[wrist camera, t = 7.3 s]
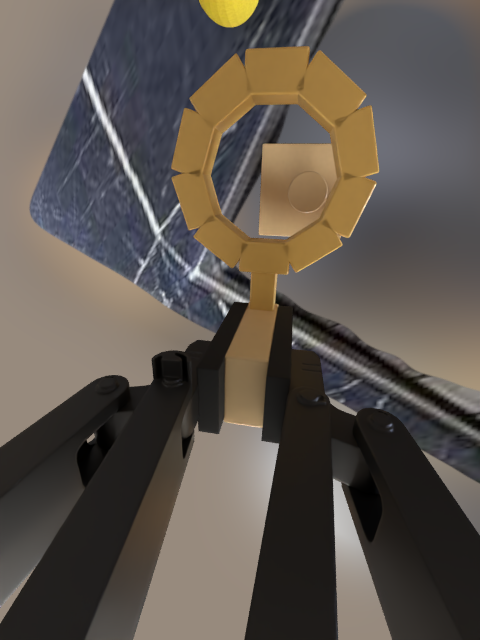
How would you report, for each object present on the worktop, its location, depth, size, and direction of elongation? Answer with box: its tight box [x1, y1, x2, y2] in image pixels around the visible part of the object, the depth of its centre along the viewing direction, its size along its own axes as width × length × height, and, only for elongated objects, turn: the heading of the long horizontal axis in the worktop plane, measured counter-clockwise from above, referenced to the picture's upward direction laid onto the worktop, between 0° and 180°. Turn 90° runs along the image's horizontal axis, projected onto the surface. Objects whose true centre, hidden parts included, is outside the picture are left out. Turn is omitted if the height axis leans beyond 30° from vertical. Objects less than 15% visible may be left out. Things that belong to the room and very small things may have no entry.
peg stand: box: [259, 144, 341, 239], centre depth 25 cm, size 9×9×16 cm
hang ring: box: [171, 46, 379, 428], centre depth 12 cm, size 13×8×6 cm, turn 179°
